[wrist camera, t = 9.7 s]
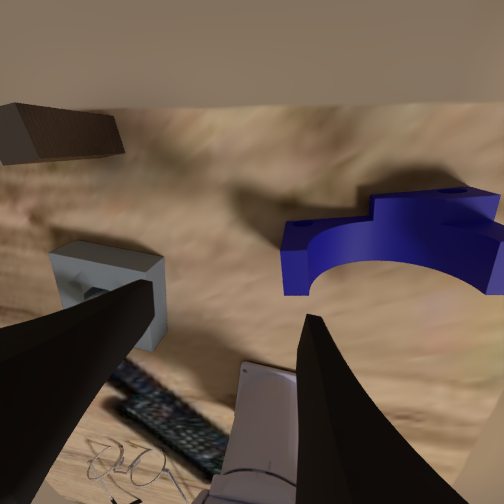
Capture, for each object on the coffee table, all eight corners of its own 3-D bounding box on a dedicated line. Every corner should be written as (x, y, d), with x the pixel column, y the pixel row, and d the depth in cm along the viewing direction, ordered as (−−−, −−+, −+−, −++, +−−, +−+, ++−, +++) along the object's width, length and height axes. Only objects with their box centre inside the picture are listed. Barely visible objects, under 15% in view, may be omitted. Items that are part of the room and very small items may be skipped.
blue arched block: (467, 186, 16) (550, 208, 11) (454, 248, 18) (520, 294, 12) (284, 201, 19) (277, 226, 13) (288, 255, 20) (284, 295, 15)
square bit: (125, 153, 19) (39, 158, 13) (97, 158, 20) (3, 165, 13) (113, 116, 18) (14, 102, 12) (84, 122, 19) (-24, 112, 12)
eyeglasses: (179, 445, 36) (162, 487, 32) (212, 509, 43) (202, 552, 39) (93, 437, 40) (68, 474, 36) (136, 497, 47) (119, 534, 43)
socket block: (167, 330, 26) (152, 352, 24) (92, 313, 27) (69, 332, 25) (164, 256, 22) (145, 272, 20) (77, 240, 24) (48, 252, 21)
